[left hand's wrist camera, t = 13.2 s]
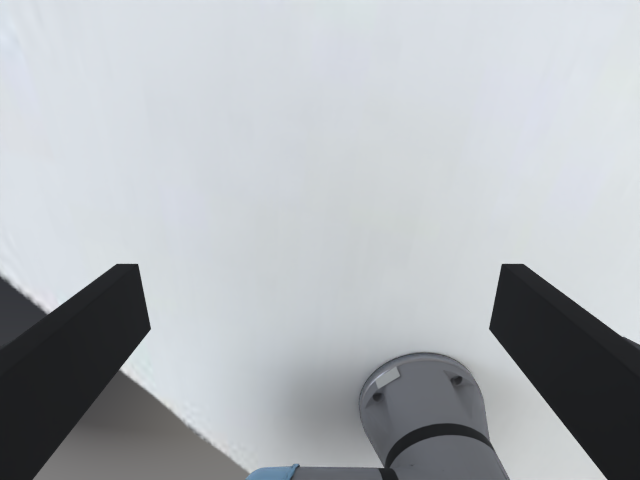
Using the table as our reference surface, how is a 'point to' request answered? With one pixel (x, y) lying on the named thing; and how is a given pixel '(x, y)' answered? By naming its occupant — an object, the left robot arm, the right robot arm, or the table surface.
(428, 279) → the table surface
